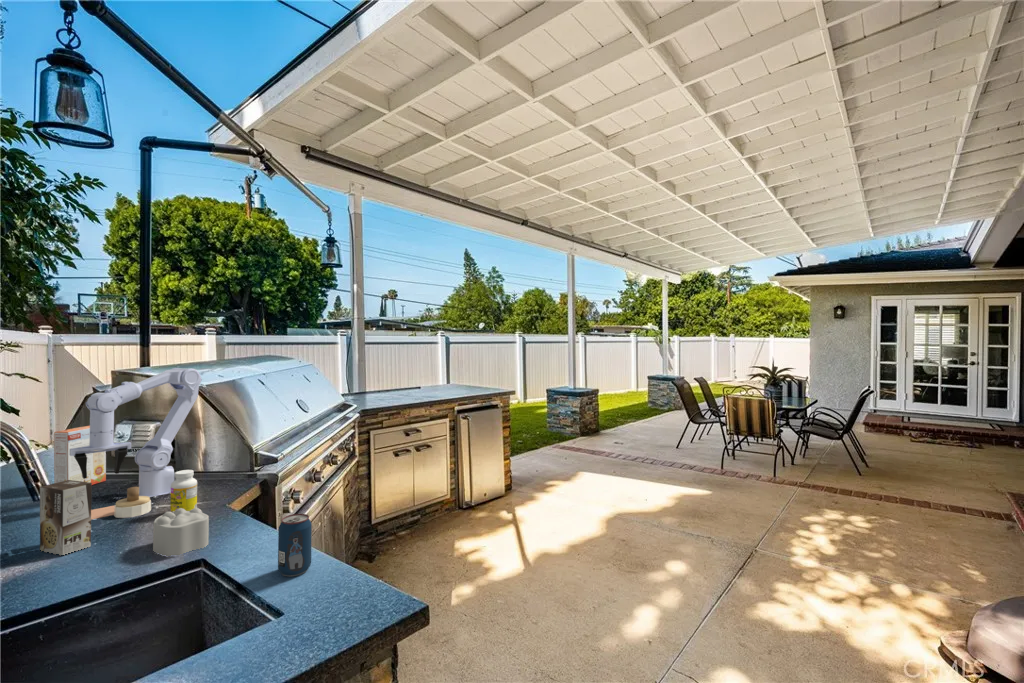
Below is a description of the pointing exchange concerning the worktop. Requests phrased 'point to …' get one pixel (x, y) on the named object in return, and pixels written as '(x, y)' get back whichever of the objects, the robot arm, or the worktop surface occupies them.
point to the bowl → (132, 510)
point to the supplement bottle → (183, 491)
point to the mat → (102, 512)
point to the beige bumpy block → (180, 532)
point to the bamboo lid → (132, 498)
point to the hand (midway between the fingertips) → (100, 475)
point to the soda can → (294, 544)
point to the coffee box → (65, 517)
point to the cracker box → (68, 465)
